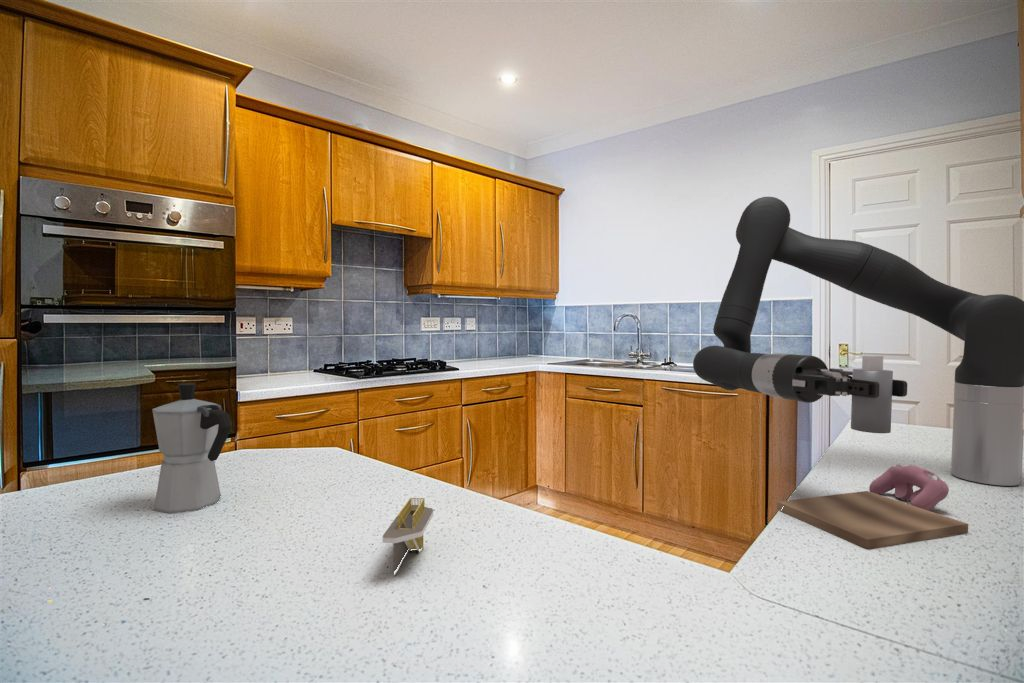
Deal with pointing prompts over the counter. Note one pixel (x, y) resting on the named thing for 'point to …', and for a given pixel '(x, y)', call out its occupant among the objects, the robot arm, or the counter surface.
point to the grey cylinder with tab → (873, 411)
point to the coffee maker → (189, 451)
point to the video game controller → (906, 479)
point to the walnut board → (871, 519)
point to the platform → (408, 529)
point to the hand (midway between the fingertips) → (891, 389)
